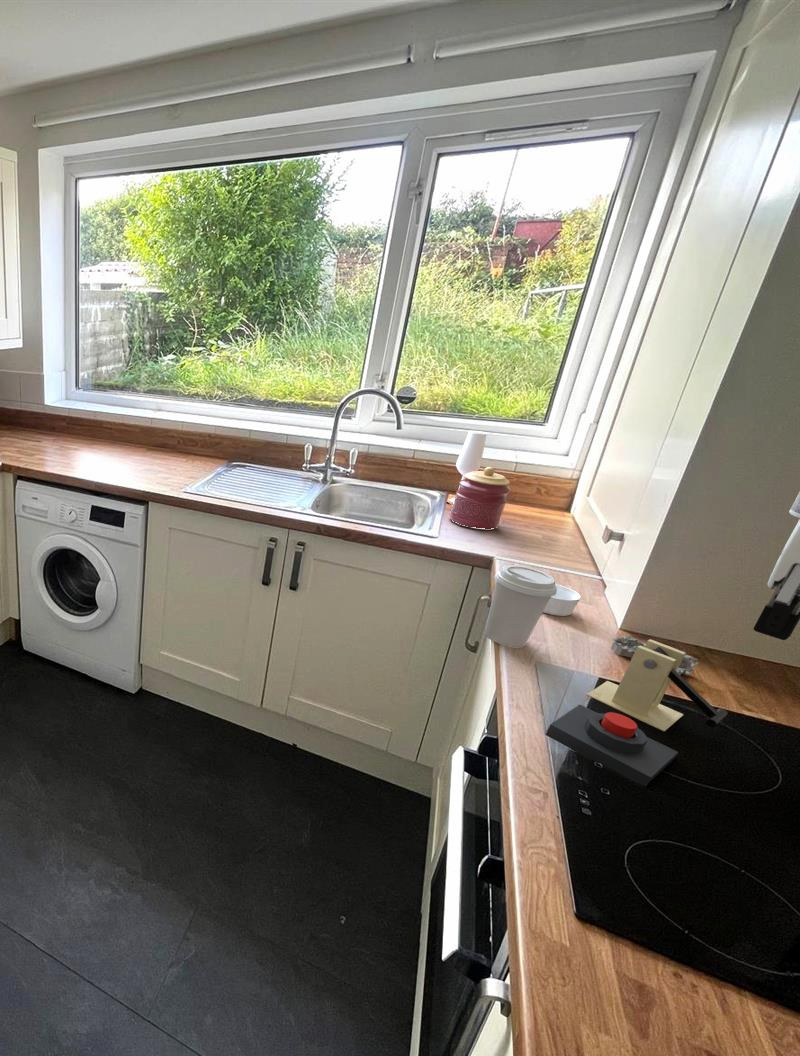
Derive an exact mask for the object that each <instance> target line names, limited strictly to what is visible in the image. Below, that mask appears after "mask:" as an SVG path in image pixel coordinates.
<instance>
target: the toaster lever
mask: <svg viewBox="0 0 800 1056" xmlns="http://www.w3.org/2000/svg"><path fill="white" fill-rule="evenodd" d="M653 651H656V652H658V653H661V654H663V655H666V656H668V657H670V656H669V655H668V654H666V653H665V652H664V651H663V650H662V649H661V648H660V647H657V648H655V649H653ZM668 678H669V679H670V680H672V681H671V682H672V683H673V684H675V686H677V687H678V689H679V690H681V691H682V693H684V695H686V696H687V698H689V699H690V700H691V702H693V704H695V705H696V707H698V708H699V709H700V710H701V711H702V712H703V713H704V714H705V715H706V716H707V718H706V719H705V721H704V724H706V725H707V727H711V728H715V727H717V726H718V724H720V723H721V722H722V721H723V720H724V719H725V718H727V716H728V714H729V713H728V711H727V710H726V709H725V708H718V709H716V708H714V707H713V706H712V705H711V704H710V702H708V701H707V700H706V699H705V698H704V697H703V696H702V695H701V694H700V693H699V692H698V691H697V690H696V689H695V688H694V687H693V686H692V685H691V684H690V683H689V682H688V681H686V680H685V678H684V677H683V676H681V675H679V674H678V673H677V672H676V671H675V670H674V669H673V668H672V669H671V671H670V673H669V675H668Z"/></svg>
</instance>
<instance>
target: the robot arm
mask: <svg viewBox="0 0 800 1056" xmlns="http://www.w3.org/2000/svg"><path fill="white" fill-rule="evenodd" d="M788 513H789V515H791V516H793V517H796V518H798V522H797V523H796V525H795V527H794V529H793V530H792V532H791V534H790V535H789V538H788V540H787V541H786V544H785V545H784V547H783V549H782V551H781V553H780V554H779V557H778V559H777V561H776V563H775V565H774V568H773V570H772V572H771V574H770V576H769V579H768V581H767V584H766V585H767V587H768V588H769V590H774V591H773V593H772V595H771V598H770V599H769V601H768V603H767V604H765V606H764V607H763V610H762V611H761V613H760V616H759V617H758V619H757V620H756V622H755V625H754V627H753V631H754V632H756V633H760V634H762V635H766V636H769V637H772V638H775V639H778V640H781V641H787V640H788V639H789V638H791V636H792V634H793V632H794V630H795V629H796V627H797V625H798V624H799V621H800V491H799V492H798V494H797V496H796V498H795V500H794V502H793V503H792V506H791V508H790V509H789V510H788Z"/></svg>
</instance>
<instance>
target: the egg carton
mask: <svg viewBox="0 0 800 1056" xmlns="http://www.w3.org/2000/svg"><path fill="white" fill-rule="evenodd" d="M612 640H613V642H612V645H611V647H610V649H611V650H612V651H614V652H613V653H614V654H615V655H618V656H624V657H628V658H630V659H632V657H633V655H634V653H635V651H636V649H637V647H638V646H643V647H645V645H646V643H644V642H642V641H638V639H636V638H635V637H632V636H631V635H629V636H627V635H626V636H621V637H616V638H614V637H612ZM698 664H700V659H698V658H695V657H694V656H692V655H688V654H687V653H686V654H685V656H684V658H683V659H682V661H681V663H680V665H679V667H678V669H677V671H676V672H677V673H678V674H679V675H680V676H681V675H684V676H690V675H691V673H692V671H693V669H694V668H693V667H694V666H697V665H698Z"/></svg>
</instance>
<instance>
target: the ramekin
mask: <svg viewBox="0 0 800 1056" xmlns="http://www.w3.org/2000/svg"><path fill="white" fill-rule="evenodd" d="M555 585H556V588H557V593H556V594H555V595H553V596H551V598H550V600H549V601H548V603H547V605H546V607H545V609H544V611H543V612H542V613H544V614H547V615H551V616H557V617H567V616H569V615H571V614H572V613H573V612H574V610H575V608H576V606H577V604H578V603H579V602H580V600H581V599H582V596H581V594H580V593H578V592H577V591H575V590H574V589H572V588H570V587H567V586H564V585H561V584H559V583H555Z"/></svg>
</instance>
